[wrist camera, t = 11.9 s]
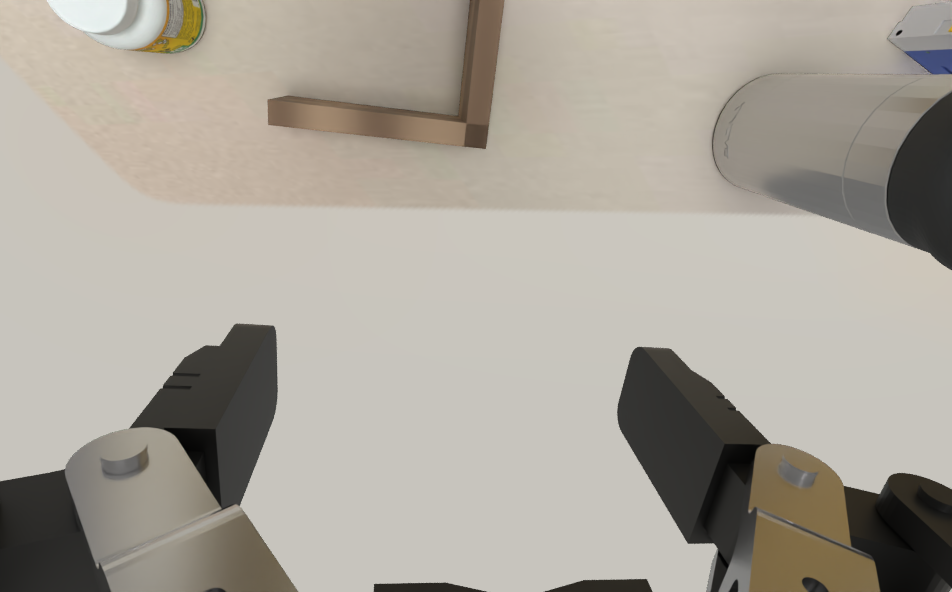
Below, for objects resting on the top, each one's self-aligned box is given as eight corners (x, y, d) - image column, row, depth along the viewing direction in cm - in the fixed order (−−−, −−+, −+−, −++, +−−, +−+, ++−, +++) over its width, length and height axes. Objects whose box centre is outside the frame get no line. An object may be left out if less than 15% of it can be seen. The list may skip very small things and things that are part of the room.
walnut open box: (496, -40, 36) (511, -60, 31) (475, 138, 41) (485, 148, 35) (285, -76, 34) (262, -104, 29) (287, 117, 39) (268, 124, 33)
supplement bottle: (214, -16, 35) (149, -46, 26) (200, 66, 37) (136, 64, 28) (125, -51, 34) (27, -95, 25) (116, 36, 36) (21, 24, 27)
